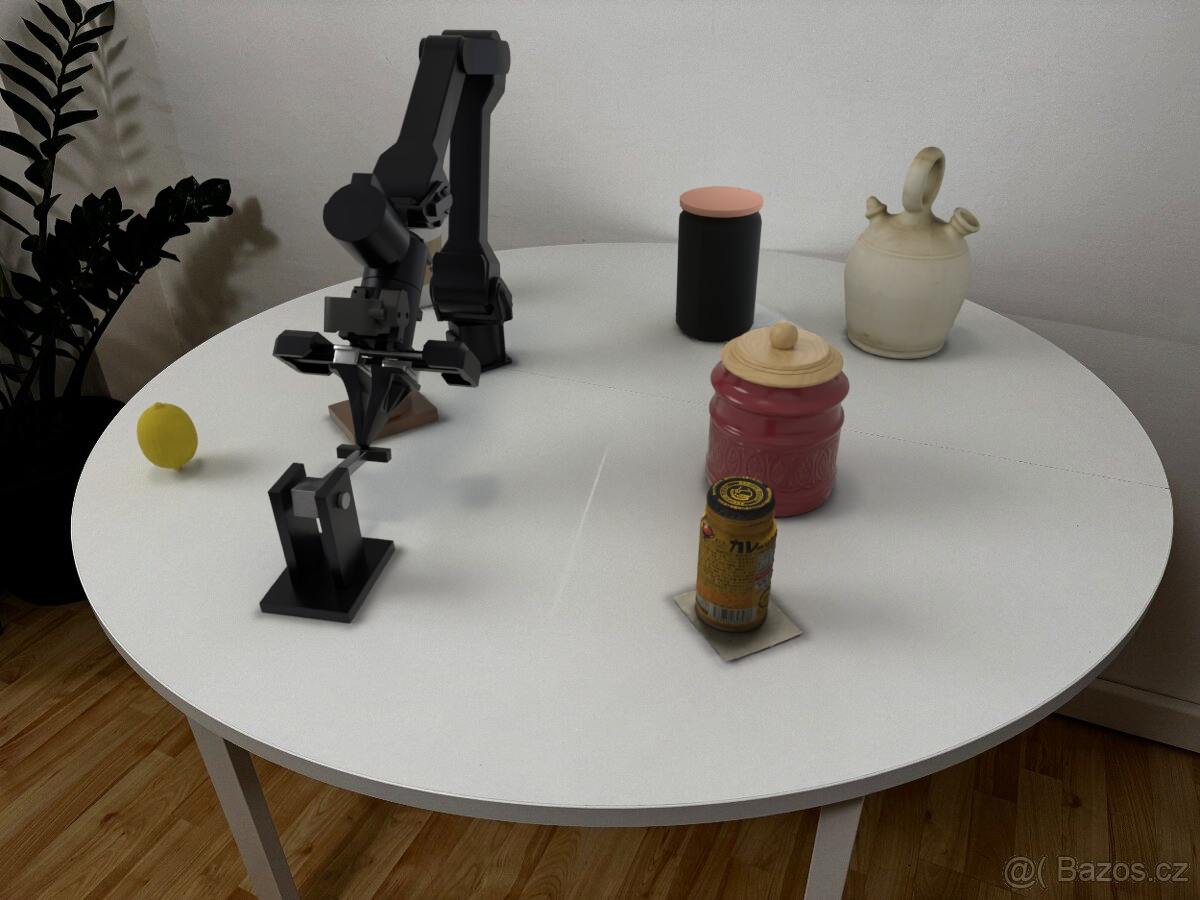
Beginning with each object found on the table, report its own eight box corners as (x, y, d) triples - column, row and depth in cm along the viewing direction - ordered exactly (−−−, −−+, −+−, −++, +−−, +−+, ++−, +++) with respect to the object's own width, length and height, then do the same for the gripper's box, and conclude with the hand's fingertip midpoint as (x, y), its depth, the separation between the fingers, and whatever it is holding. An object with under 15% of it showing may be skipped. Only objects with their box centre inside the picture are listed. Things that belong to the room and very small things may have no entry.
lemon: (186, 486, 92) (165, 419, 88) (138, 480, 93) (115, 414, 89) (216, 457, 96) (197, 392, 92) (170, 452, 97) (149, 388, 93)
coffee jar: (765, 322, 124) (777, 193, 115) (732, 351, 117) (742, 215, 107) (697, 307, 129) (702, 181, 120) (661, 333, 122) (664, 202, 112)
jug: (981, 345, 117) (1026, 149, 104) (902, 377, 110) (940, 171, 97) (888, 307, 128) (919, 126, 115) (811, 334, 121) (834, 144, 107)
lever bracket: (315, 541, 84) (292, 443, 78) (395, 550, 82) (378, 451, 77) (261, 613, 75) (231, 509, 70) (350, 624, 74) (327, 520, 68)
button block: (410, 394, 108) (406, 368, 106) (439, 421, 102) (435, 394, 101) (330, 418, 103) (324, 391, 102) (355, 448, 98) (350, 420, 96)
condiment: (743, 574, 79) (754, 459, 72) (802, 634, 72) (819, 515, 66) (671, 599, 76) (676, 483, 70) (726, 664, 70) (736, 542, 63)
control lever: (342, 460, 85) (340, 436, 84) (392, 465, 84) (390, 441, 83) (277, 514, 74) (274, 487, 73) (334, 520, 73) (331, 493, 72)
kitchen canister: (823, 531, 84) (848, 362, 74) (689, 505, 88) (697, 341, 78) (841, 460, 94) (866, 304, 85) (721, 439, 98) (731, 288, 89)
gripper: (260, 247, 80) (223, 415, 77) (459, 258, 77) (429, 433, 74) (315, 296, 91) (285, 445, 87) (492, 307, 88) (468, 462, 84)
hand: (362, 446), depth 83 cm, fingers closed, pressing on control lever
